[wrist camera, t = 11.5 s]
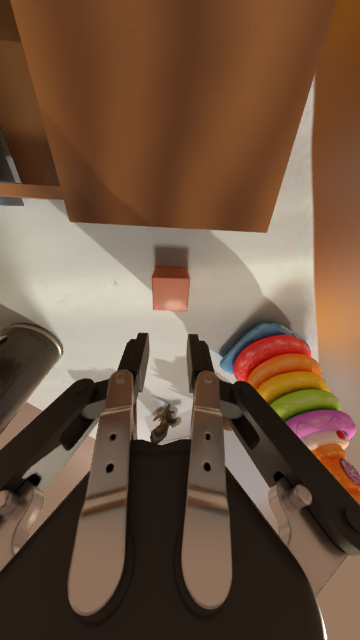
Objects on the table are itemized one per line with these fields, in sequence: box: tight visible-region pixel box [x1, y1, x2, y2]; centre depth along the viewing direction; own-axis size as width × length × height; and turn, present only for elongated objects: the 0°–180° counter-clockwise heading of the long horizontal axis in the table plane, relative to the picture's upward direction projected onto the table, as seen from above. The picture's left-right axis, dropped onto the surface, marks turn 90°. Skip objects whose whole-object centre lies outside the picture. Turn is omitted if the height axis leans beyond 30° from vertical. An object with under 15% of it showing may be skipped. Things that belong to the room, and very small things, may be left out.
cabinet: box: [10, 0, 337, 233], centre depth 13 cm, size 15×13×9 cm
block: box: [152, 266, 190, 311], centre depth 22 cm, size 4×4×4 cm
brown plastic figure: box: [150, 404, 181, 444], centre depth 41 cm, size 8×7×9 cm
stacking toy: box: [220, 322, 360, 505], centre depth 22 cm, size 14×13×23 cm
